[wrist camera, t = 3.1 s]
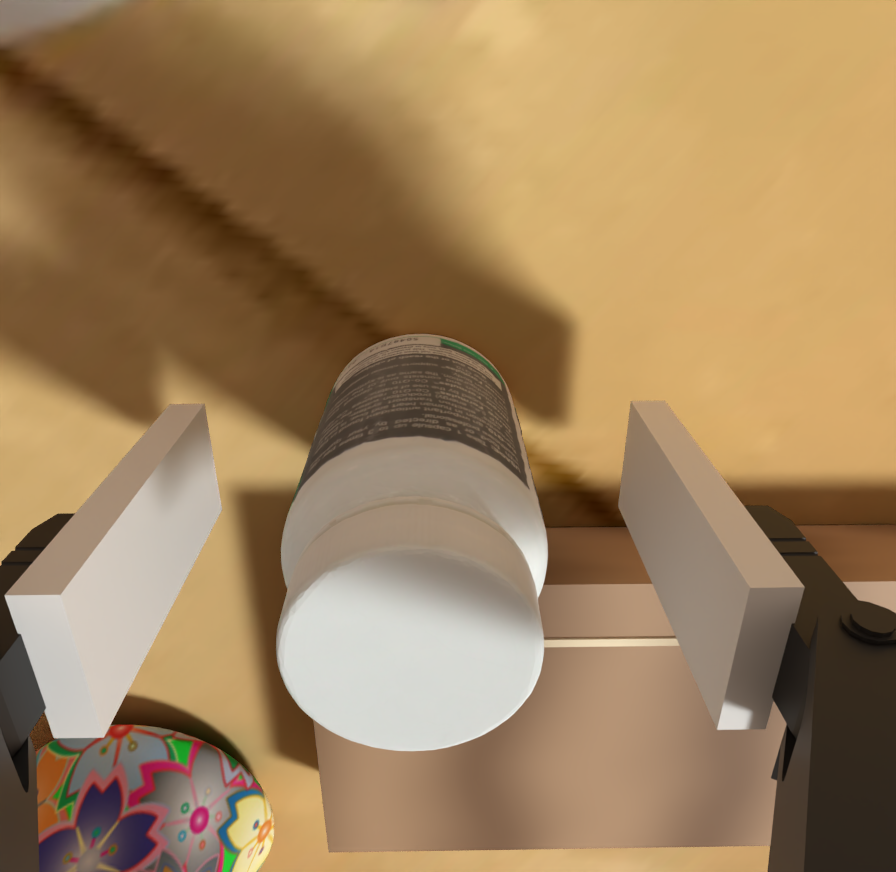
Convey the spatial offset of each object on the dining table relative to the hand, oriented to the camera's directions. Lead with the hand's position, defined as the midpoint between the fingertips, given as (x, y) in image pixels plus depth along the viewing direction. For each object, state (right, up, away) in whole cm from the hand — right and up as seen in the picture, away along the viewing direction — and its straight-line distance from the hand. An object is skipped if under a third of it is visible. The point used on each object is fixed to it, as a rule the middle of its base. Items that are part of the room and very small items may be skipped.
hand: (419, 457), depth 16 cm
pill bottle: (0, +1, +2) cm, 2 cm away
